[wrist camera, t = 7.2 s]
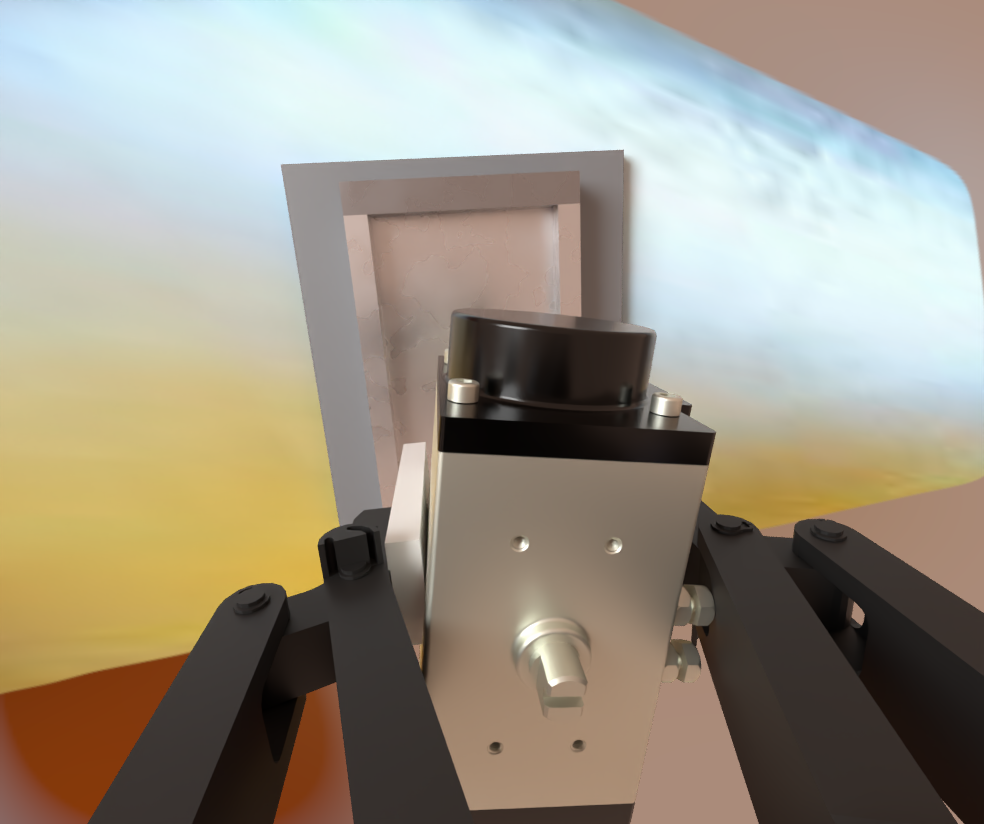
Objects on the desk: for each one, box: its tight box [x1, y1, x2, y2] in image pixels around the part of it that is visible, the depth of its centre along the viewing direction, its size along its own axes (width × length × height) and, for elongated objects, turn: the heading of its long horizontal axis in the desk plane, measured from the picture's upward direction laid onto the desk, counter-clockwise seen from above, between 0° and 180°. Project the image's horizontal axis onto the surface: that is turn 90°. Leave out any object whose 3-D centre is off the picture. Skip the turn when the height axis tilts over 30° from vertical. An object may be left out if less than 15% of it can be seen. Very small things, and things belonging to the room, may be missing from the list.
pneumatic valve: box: [419, 308, 716, 824], centre depth 14 cm, size 6×12×12 cm, turn 175°
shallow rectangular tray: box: [339, 171, 581, 508], centre depth 30 cm, size 12×23×2 cm, turn 4°
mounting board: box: [281, 150, 624, 526], centre depth 31 cm, size 19×26×1 cm
